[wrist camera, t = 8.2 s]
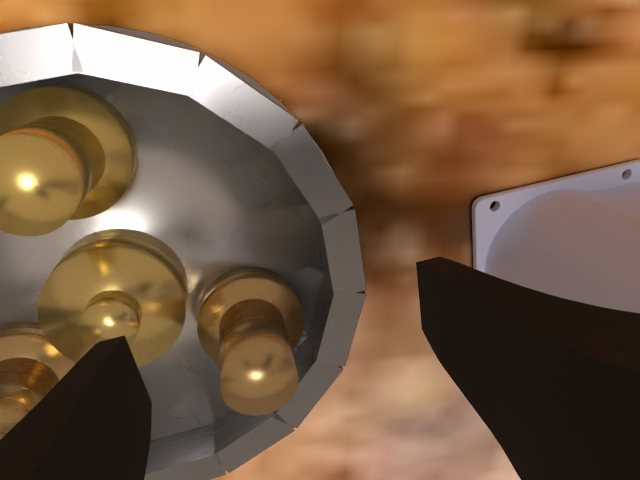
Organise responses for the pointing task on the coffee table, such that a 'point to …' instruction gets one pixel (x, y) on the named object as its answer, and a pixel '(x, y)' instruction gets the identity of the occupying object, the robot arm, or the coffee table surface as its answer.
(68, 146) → the gear
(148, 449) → the robot arm
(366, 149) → the coffee table surface
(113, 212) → the carrier
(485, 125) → the coffee table surface
